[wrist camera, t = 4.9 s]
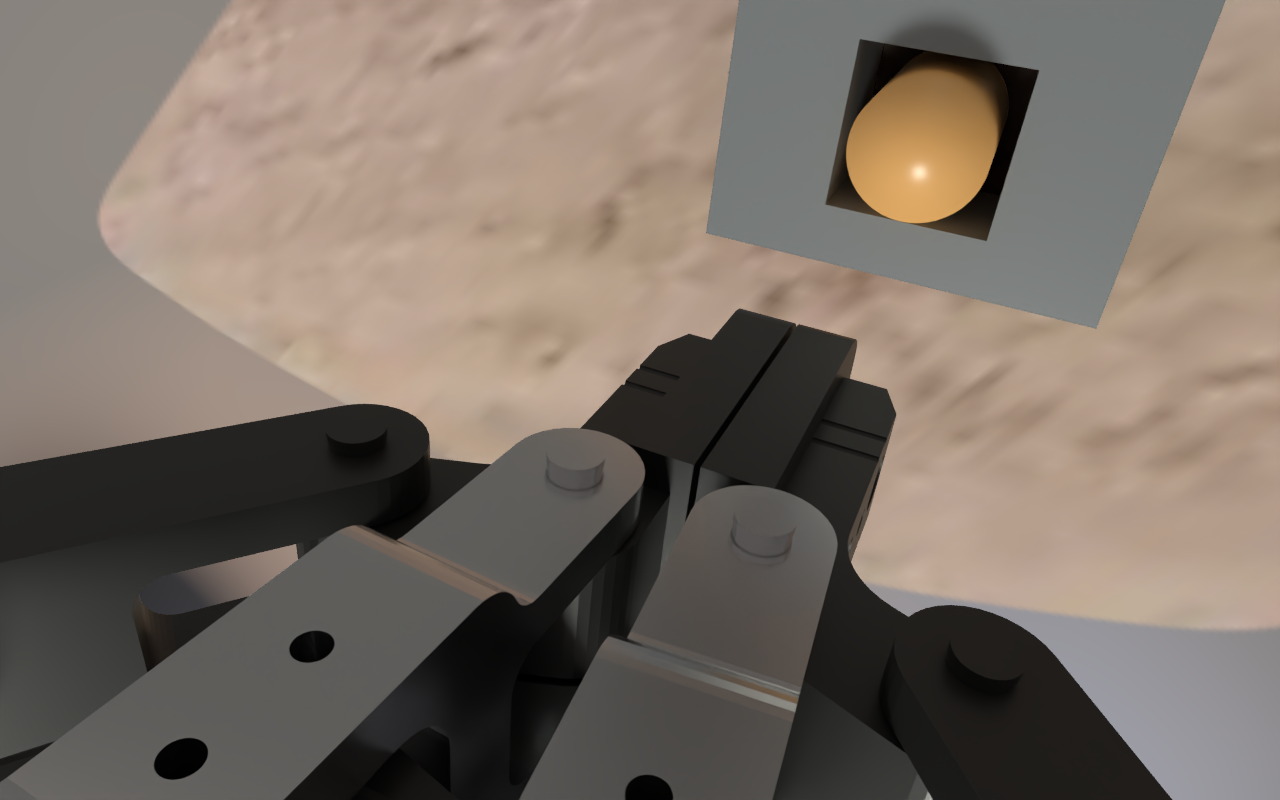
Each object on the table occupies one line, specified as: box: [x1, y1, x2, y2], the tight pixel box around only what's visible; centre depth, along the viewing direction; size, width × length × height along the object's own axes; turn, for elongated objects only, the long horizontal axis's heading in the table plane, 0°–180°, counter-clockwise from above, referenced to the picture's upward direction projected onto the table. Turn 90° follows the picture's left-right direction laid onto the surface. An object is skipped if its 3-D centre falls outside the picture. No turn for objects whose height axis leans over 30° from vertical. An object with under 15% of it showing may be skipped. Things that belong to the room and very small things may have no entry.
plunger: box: [846, 51, 1009, 223], centre depth 23 cm, size 3×3×5 cm
